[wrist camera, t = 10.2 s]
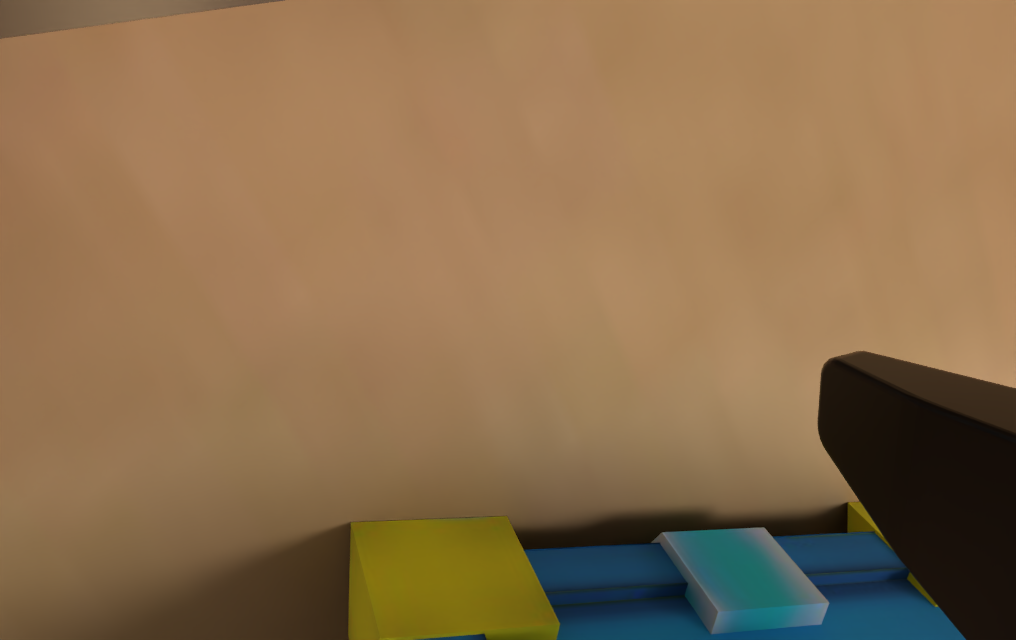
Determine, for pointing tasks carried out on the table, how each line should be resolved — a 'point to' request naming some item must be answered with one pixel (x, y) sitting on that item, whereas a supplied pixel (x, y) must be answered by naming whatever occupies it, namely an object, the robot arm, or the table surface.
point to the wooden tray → (95, 12)
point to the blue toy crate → (633, 586)
